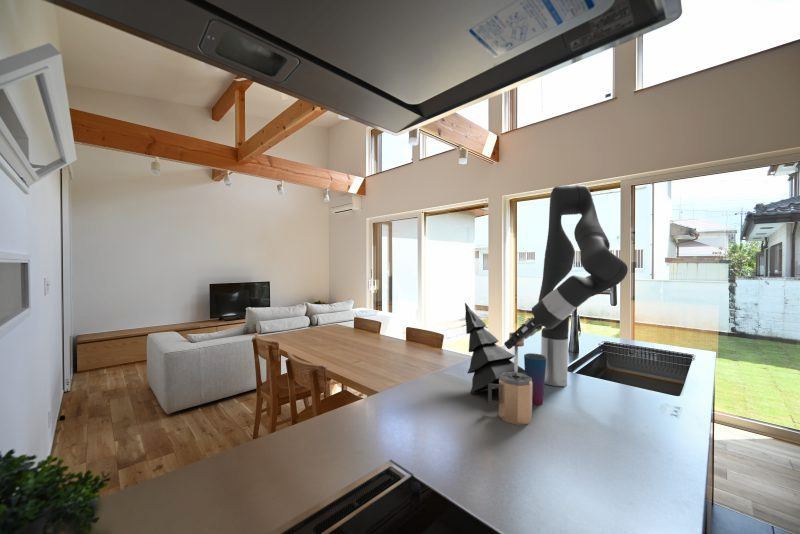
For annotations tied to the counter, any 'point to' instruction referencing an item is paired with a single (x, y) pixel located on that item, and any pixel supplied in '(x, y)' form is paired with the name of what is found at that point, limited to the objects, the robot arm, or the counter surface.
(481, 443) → the counter surface
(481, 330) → the decorative tree
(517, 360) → the plunger
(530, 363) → the cup
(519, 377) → the press pot
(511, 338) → the robot arm
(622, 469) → the counter surface
